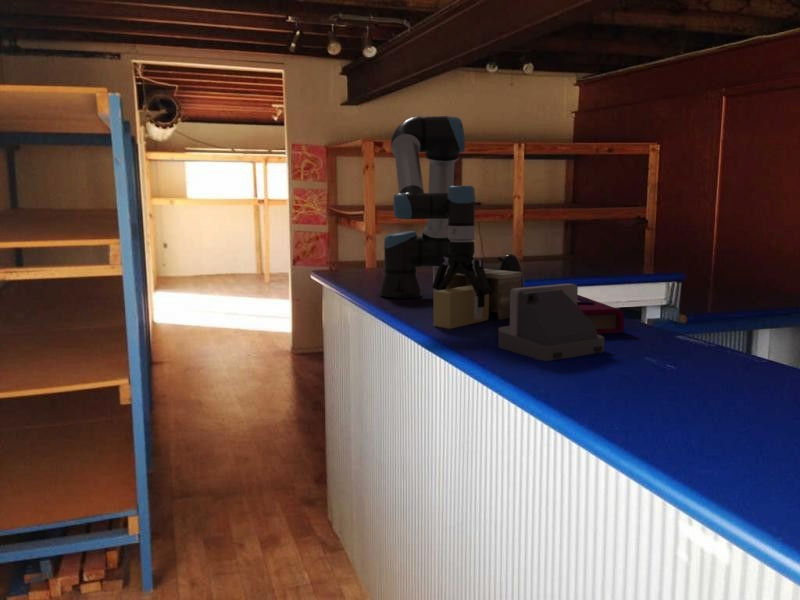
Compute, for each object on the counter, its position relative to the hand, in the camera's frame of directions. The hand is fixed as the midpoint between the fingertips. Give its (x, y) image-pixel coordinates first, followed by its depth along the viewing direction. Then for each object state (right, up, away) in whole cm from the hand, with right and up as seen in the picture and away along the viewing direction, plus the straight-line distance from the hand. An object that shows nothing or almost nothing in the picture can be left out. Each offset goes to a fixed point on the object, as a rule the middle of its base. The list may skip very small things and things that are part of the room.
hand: (460, 316), depth 198 cm
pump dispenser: (+22, +6, +52) cm, 57 cm away
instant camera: (+18, -7, -34) cm, 40 cm away
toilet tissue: (+1, +7, +62) cm, 62 cm away
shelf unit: (+8, +1, +16) cm, 17 cm away
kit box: (0, -2, 0) cm, 2 cm away
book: (+29, -3, -4) cm, 30 cm away
